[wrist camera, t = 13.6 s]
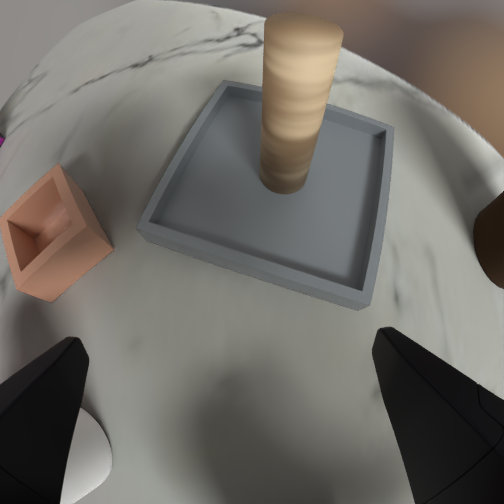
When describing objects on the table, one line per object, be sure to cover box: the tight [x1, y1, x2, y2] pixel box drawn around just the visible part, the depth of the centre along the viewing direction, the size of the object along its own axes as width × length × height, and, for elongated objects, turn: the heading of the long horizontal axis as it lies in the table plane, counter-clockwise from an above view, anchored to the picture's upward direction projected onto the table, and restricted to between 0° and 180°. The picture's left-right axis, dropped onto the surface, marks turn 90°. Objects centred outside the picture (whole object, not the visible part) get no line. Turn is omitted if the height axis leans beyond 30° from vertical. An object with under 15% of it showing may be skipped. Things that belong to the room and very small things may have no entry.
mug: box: [60, 408, 112, 504], centre depth 12 cm, size 12×8×10 cm
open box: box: [0, 163, 114, 303], centre depth 21 cm, size 8×8×5 cm
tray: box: [136, 80, 394, 311], centre depth 24 cm, size 18×18×2 cm
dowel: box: [260, 12, 343, 194], centre depth 18 cm, size 4×4×14 cm
